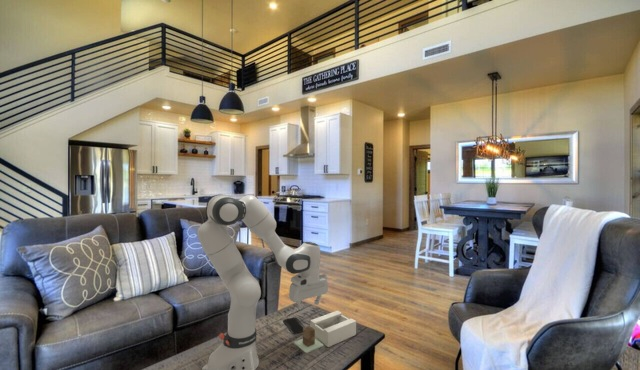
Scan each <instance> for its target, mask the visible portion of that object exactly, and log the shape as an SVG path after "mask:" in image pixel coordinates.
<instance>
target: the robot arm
mask: <svg viewBox="0 0 640 370" xmlns="http://www.w3.org/2000/svg"><path fill="white" fill-rule="evenodd" d="M205 219H206V221H205V222H203V223H202V224H201V225H200V226H199V227H198V229H197V232H196V234H197V237H198V240H199V242H200V245H201V247H202V250H203V251H204V254H206V257H207V258H208V259H209V261H210V264H211V265H212V267H213V268H214V270H215V271H216V273H217V274H218V276H219V277H220V279H221V281H222V283H223V284H224V286H225V287H226V289H227V291H228V293H229V295H230V306H229V311H228V313H227V332H226V334H225V333H223V332H220V334H219V335H218V338H220V340H221V341H222V340H223V341H222V342H221V344H219V346H218V347H217V348H215V350H213V351H212V352H211V353H210V355H209V358H208V360H207V361H208V362H207V364H205V365H203V366H202V369H201V370H256V369H257V368H258V367H259V365H260V359H259V357H258V351H257V344H256V343H257V327H256V313H257V306H258V302H259V300H260V298H261V297H262V296H261V295H262V289H261V286H260V284H259V281H258V280H257V279H256V278H255V277H254V276H253V274H252V273H251V272H250V270H249V268H248V267H247V265H246V263H245V261H244V259H243V256H242V254H241V252H240V251H239V249H238V247H237V245H236V244H235V242H234V240H233V239H232V237H231V235H230V233H229V231H228V226H232V225H233V224H235V223H237V222H239V221H241V222H242V223H244V225H245V226H246V227H247V228H248V230H249V231H251V232H252V234H254V235H255V236H256V237H257V238H258V239H261V240H263V242H265V244H266V245H267V247H268V248H269V249H270V250H271V251H272V254H273V257H274V261H275V263H276V264H277V265H278V266H280V267H281V268H283V269H284V270H285V271H287V272H288V273H290V274H292V275H293V274H294V275H293V276H292V277H291V278H290V282H291V284H290V285H289V289H288V291H289V292H288V298H289V300H290V301H291V302H293V303H295V302H296V304H297V309H298V310H300V311H301V310H303V306H304V305H303V304H302V301H304V300H308V299H311V298H315V297H316V298H315V299H314V303H313V304H314V305H316V306H318V305H320V300H321V298H322V296H323V295H327V293H328V291H329V283H328V275H326V273H322V274H321V273H320V272H321V269H320V263H321V248H320V246H319V244H317V243H316V242H312V241H304V242H303V243H302V244H301V245H300V246H299V247H297V248H293V247H291V246H290V245H288V244H285V243H284V242H283V241H282V239H281V237H279V235H278V234H277V233H276V228H277V221H276V219H275V218H274V216H273V214H272V212H271V211H270V210H269V209H268V207H266V205H265V204H264V203H263V202H262V201H261V200H260V199H259V198H258V197H256V196H255V195H253V194H247V195H244V196H243V197H241V198H240V199H236V198H234V197H232V196H229V195H227V194H221V193H220V194H215V195H213V196H211V197H210V198H209V199H208V200H207V202H206V205H205Z"/></svg>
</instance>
